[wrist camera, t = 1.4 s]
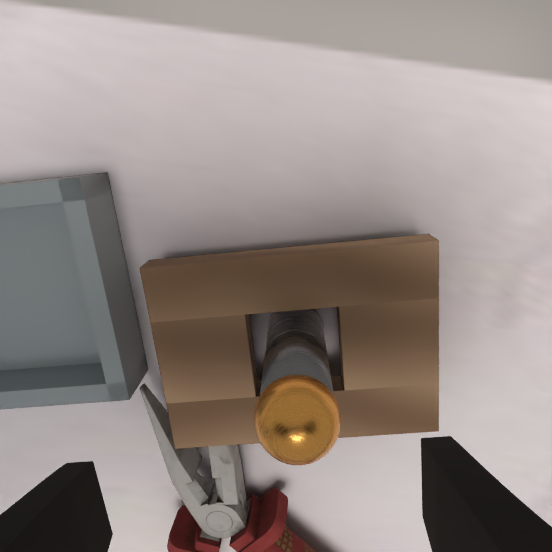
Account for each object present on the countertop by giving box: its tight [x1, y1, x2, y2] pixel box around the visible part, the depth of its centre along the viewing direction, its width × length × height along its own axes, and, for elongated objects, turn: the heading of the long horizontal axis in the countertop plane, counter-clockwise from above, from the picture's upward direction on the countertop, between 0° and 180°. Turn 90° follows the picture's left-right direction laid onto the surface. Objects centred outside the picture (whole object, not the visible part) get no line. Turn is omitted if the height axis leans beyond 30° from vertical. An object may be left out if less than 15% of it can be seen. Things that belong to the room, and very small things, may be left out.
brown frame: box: [140, 234, 439, 449], centre depth 19 cm, size 8×11×2 cm
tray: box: [0, 172, 148, 409], centre depth 19 cm, size 9×10×2 cm
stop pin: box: [254, 309, 341, 465], centre depth 16 cm, size 3×3×8 cm
